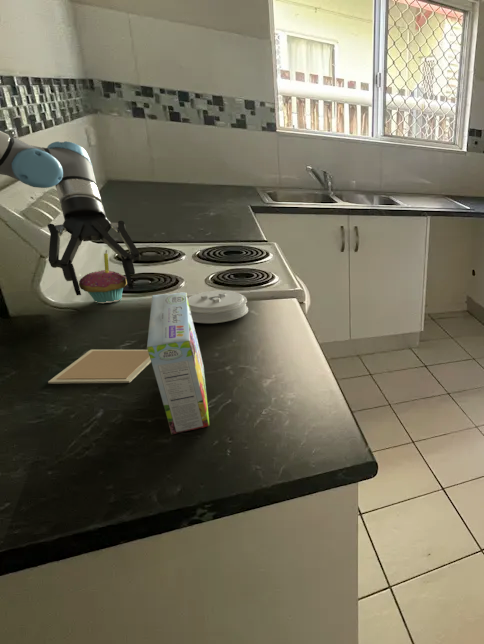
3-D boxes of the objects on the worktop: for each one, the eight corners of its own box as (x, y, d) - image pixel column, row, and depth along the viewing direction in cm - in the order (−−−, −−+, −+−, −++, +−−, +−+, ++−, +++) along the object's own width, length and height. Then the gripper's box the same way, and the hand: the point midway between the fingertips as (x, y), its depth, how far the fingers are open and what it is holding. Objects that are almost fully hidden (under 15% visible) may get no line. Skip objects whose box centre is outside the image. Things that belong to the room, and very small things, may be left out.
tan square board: (48, 383, 79) (47, 381, 79) (91, 351, 90) (90, 348, 90) (129, 382, 82) (129, 380, 82) (162, 351, 92) (161, 349, 92)
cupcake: (129, 292, 116) (117, 244, 111) (132, 304, 111) (120, 254, 106) (84, 297, 111) (69, 247, 106) (84, 310, 106) (69, 257, 101)
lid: (180, 311, 110) (176, 291, 107) (241, 302, 117) (238, 283, 115) (191, 331, 101) (186, 309, 99) (255, 320, 109) (252, 300, 107)
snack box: (168, 371, 86) (150, 294, 80) (204, 366, 89) (189, 290, 83) (168, 436, 70) (144, 346, 64) (212, 427, 73) (193, 339, 67)
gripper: (139, 211, 121) (162, 290, 117) (22, 215, 107) (44, 304, 103) (137, 193, 115) (161, 275, 111) (13, 195, 102) (36, 288, 98)
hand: (105, 289), depth 107 cm, fingers open, 9 cm apart
